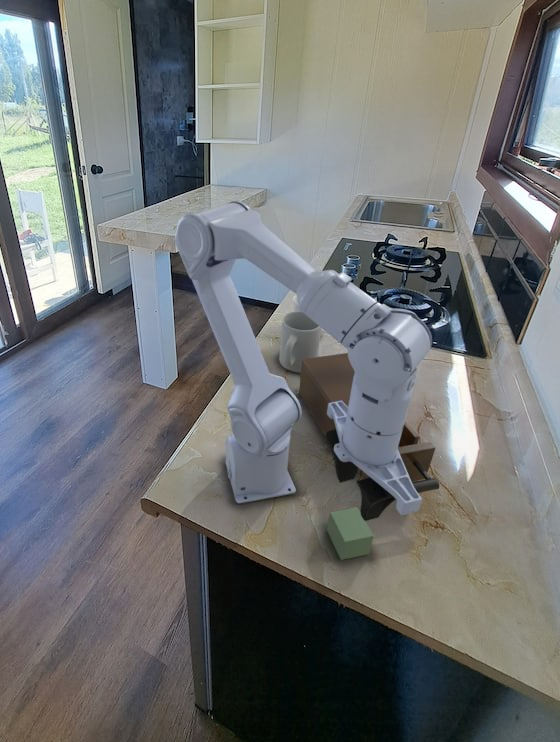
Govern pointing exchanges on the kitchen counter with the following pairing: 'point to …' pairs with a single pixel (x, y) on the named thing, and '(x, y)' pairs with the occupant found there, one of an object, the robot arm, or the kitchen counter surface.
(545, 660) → the kitchen counter surface
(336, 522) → the block
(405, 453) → the drawer
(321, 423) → the cabinet
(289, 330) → the mug
